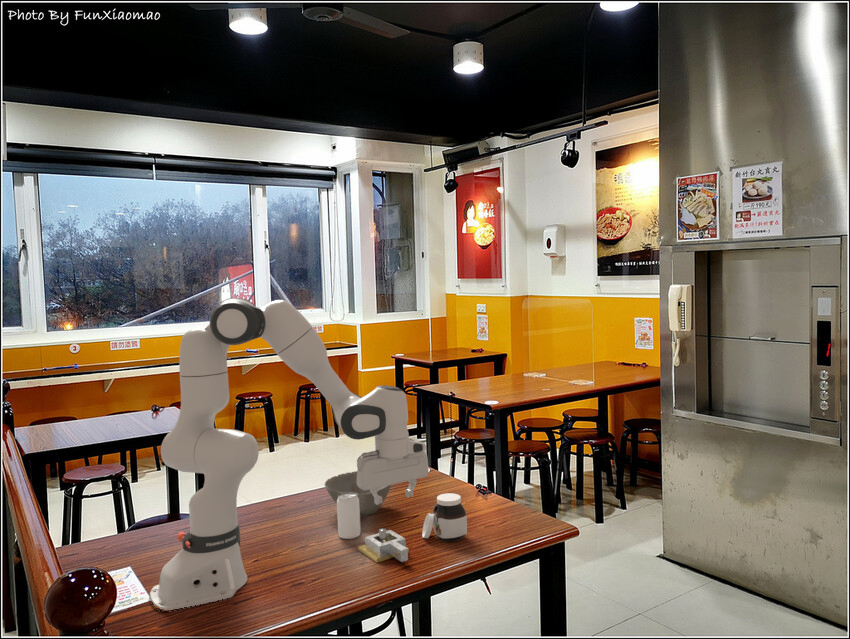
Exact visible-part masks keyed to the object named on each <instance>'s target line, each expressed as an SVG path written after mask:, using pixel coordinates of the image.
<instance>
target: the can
mask: <svg viewBox="0 0 850 639" xmlns="http://www.w3.org/2000/svg"><path fill="white" fill-rule="evenodd" d="M336 514H337V516H336V517H337V531H338V532H337V534H338V537H339V538H340V539H341V540H352V539H356V538H358V537H359V536H360V535H361V516H360V508H359V498H358V496H357V493H355V492H344V493H341V494H339V495H338V499H337V504H336Z"/></svg>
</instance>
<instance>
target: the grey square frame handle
mask: <svg viewBox="0 0 850 639" xmlns="http://www.w3.org/2000/svg"><path fill="white" fill-rule="evenodd" d="M386 535H387V542H384V543H381V542H379V532H378V533H375V534H371V535H367V536H365V537H364V540H365V543H364V545H366V548H367V549H368V550H370V551H371V552H373V553H374V554H376V555H377V556H378V557H380V558H381V557H384V556H387V555H391V556H393V558H395V560H398V561H399V562H401V563H403V562H406V561H409V556H408V555H409V552H408V549H407V548H408V547H407V545H406V544H407V543H406V538H405V537H403V536H401V535H400V534H398V533H396V531H393V530H392V529H388V530H386ZM406 547H407V548H406Z"/></svg>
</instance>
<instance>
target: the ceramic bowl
mask: <svg viewBox="0 0 850 639" xmlns="http://www.w3.org/2000/svg"><path fill="white" fill-rule="evenodd" d="M392 486H393V484H392V485H388V486H383V487H379V488H378V492H377V494H378V496H380V497H382V501H383V503H382V504H379V505H376V504H375V503H374V496H373V495H372V493H371V492H370V490H362V489H360V488H359V487H358V486H357V471H352V472H349V471H348V472H344V473H341V474H338V475H334V476H332V477H330V478H328V479H326V480H325V482H324V487H325V489H326V491H327V493H328V495H329V496H330V497H331V499H332V501H334V502H335V504H336V505H337V499H338V495H339V494H341V493H344V492H355V493H357V496H358V498H359V508H360V517H366V516H370V515H373V514H375V513H376V512H377V511H379V509H380V507H381V506H383V504H384V502H385V500H386V498H387V496H388V494H389V492H390V489H391V488H392Z"/></svg>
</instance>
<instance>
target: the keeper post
mask: <svg viewBox="0 0 850 639" xmlns="http://www.w3.org/2000/svg"><path fill="white" fill-rule="evenodd" d="M386 531H387V528H384V527H382V528H379V529H378V533H379V542H381V543H384V542H387V535H386ZM406 548H407V549H408V553H409V552H410V550H409V548H408V547H407V546H406ZM358 551H359V552H361V553H362V554H363V555H365V556H366V557H367V558H369V559H371V560H372V561H373V562H375V563H380V562H383V561H386V560H389V559H392V558H394V557H393V556H391V555H387V556H384V557H381V558H380V557H378V556H377V555H376V554H374V553H373V552H371V551H370V550H368V549H367V548H366V544H362V545H360V546H358Z"/></svg>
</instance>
